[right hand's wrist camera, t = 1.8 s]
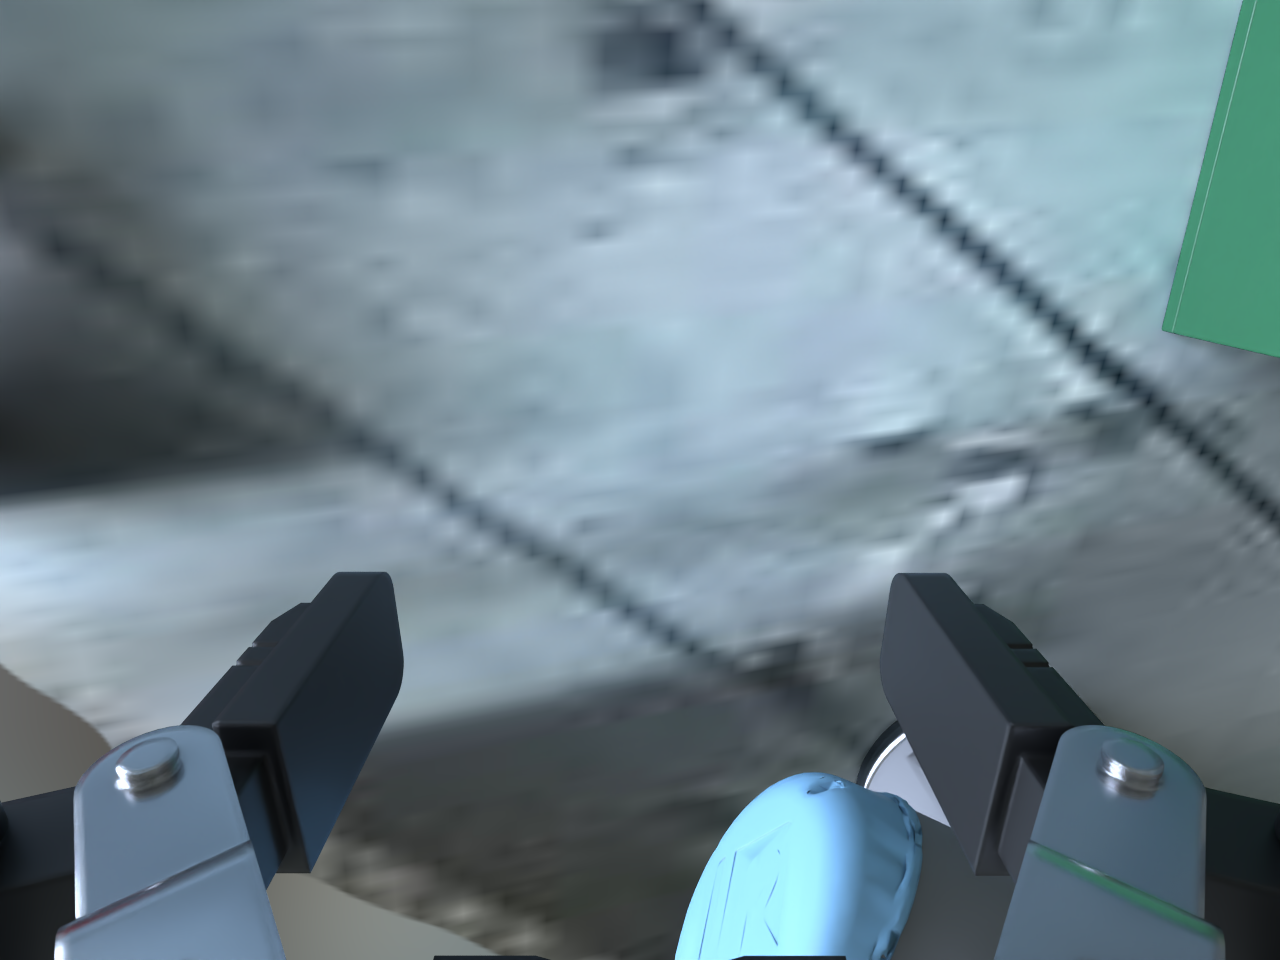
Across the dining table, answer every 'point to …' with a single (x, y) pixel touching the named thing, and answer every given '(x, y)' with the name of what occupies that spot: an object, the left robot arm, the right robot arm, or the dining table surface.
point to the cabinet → (1237, 202)
